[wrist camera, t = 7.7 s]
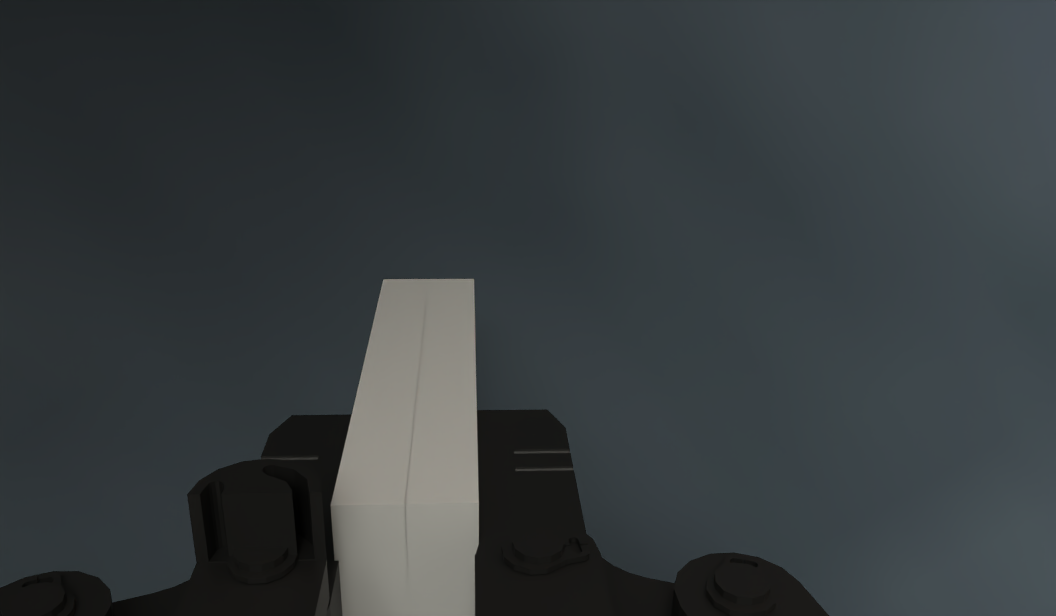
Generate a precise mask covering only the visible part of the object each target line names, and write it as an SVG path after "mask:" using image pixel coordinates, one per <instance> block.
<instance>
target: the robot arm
mask: <svg viewBox="0 0 1056 616" xmlns="http://www.w3.org/2000/svg"><path fill="white" fill-rule="evenodd" d="M187 496H188V503H189V510H190V518H191V525H192V532H193V540H194V547H195V554H196V561H197V564H196V566H195V568H194V571H193V573H192V576H191V578H190V580H188V581H186V582H184V583H182V584H179V585H177V586H175V587H172V588H169V589H166V590H162V591H159V592H156V593H152V594H148V595H143V596H139V597H135V598H130V599H126V600H122V601H117V602H113V603H112V598H111V593H110V589H109V588H108V587H107V586H106V585H105V584H104V583H103V582H102V581H101V580H100V579H99V578H98V577H95V576H92V575H88V574H85V573H82V572H79V571H53V572H48V573H43V574H39V575H34V576H30V577H25V578H23V579H20V580H18V581H16V582H13V583H11V584H9V585H6V586H4V587H2V588H0V616H829V615H828V614H827V613H826V612H825V611H824V609H823V608H822V607H821V606H820V605H819V604H818V603H817V602H816V600H815V599H814V598H813V597H812V596H811V595H810V594H809V592H808V591H807V590H806V589H805V588H804V587H803V586H802V584H801V583H800V582H799V581H798V580H796V579H795V578H794V577H793V576H791V575H790V574H789V573H788V572H787V571H785V570H784V569H783V568H782V567H779V566H777V565H775V564H773V563H770V562H768V561H766V560H763V559H761V558H759V557H754V556H749V555H743V554H738V553H717V554H708V555H705V556H702V557H700V558H697V559H694V560H691V561H690V562H689V563H687V564H686V565H685V566H684V567H683V568H682V569H681V570H680V571H679V572H678V573H677V577H676V582H675V583H670V582H665V581H660V580H655V579H650V578H645V577H642V576H638V575H635V574H631V573H628V572H626V571H624V570H622V569H620V568H617V567H615V566H613V565H611V564H610V563H609V562H607V561H606V560H605V559H603V558H602V557H601V554H600V552H599V550H598V548H597V546H596V544H595V542H594V540H593V539H592V538H591V537H590V536H588V535H587V534H586V530H585V525H584V520H583V515H582V510H581V505H580V500H579V494H578V489H577V484H576V479H575V474H574V470H573V464H572V459H571V454H570V449H569V443H568V438H567V433H566V428H565V427H564V426H563V425H562V424H561V423H560V422H559V421H558V420H557V419H556V418H555V417H554V416H553V415H552V414H551V413H550V412H549V411H548V410H477V397H476V350H475V302H474V279H383V283H382V287H381V291H380V296H379V300H378V304H377V309H376V313H375V317H374V321H373V326H372V330H371V334H370V339H369V343H368V347H367V351H366V356H365V360H364V364H363V369H362V373H361V377H360V381H359V386H358V390H357V394H356V399H355V403H354V407H353V411H352V415H292V416H291V417H290V418H288V419H287V420H286V421H285V422H284V423H282V424H281V425H280V426H279V427H278V428H277V429H275V430H274V431H273V432H272V433H271V434H269V437H268V440H267V442H266V445H265V447H264V450H263V453H262V455H261V460H252V461H243V462H239V463H236V464H233V465H230V466H227V467H224V468H221V469H218V470H216V471H214V472H213V473H211V474H209V475H208V476H206V477H204V478H203V479H201V480H199V481H198V482H197V484H196V485H195V486H194V487H193V488H192V490H191V491H190V492H189V493H188V494H187Z"/></svg>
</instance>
